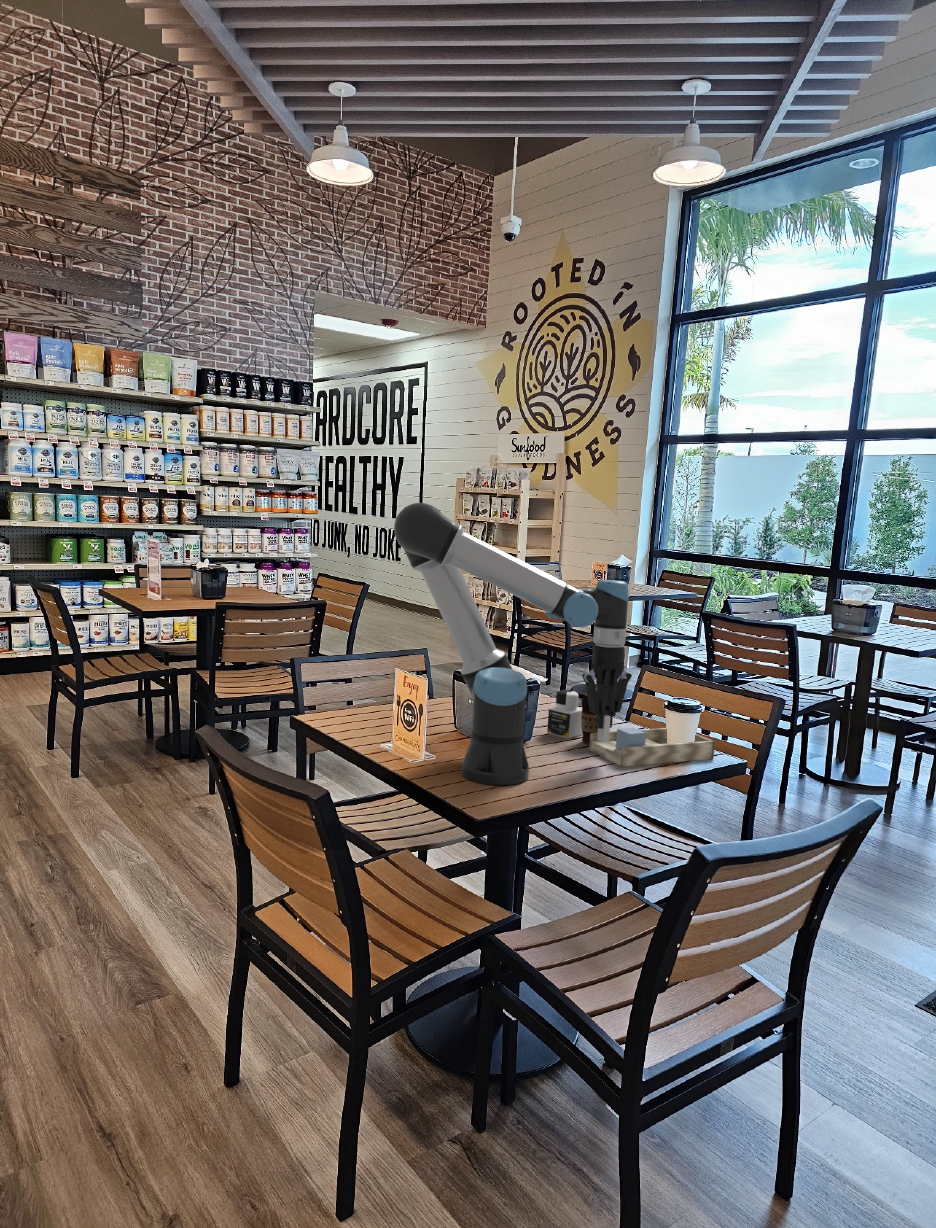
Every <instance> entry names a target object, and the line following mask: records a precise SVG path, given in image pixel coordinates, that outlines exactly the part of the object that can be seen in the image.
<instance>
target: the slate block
mask: <svg viewBox="0 0 936 1228" xmlns="http://www.w3.org/2000/svg"><path fill="white" fill-rule="evenodd" d="M641 730H642V729H639V728H635V727H626V728H624V727H623V728H617V729H616V731H617V738H616V749H618V750H620V751H621V748H623V747H636V746H645V740H646V733H645V732H643V731H641Z"/></svg>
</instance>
